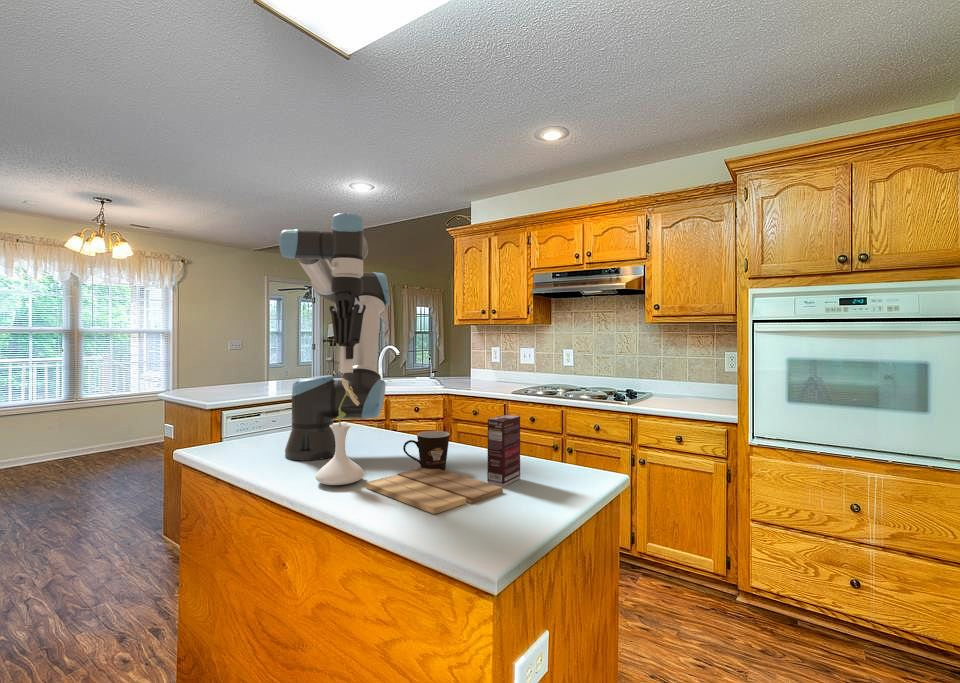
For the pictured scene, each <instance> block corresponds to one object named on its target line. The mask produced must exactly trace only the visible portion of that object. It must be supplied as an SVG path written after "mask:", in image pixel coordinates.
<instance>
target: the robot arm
mask: <svg viewBox="0 0 960 683" xmlns="http://www.w3.org/2000/svg"><path fill="white" fill-rule="evenodd" d="M331 221H332V222H331V226H330V228H331V230H315V229H314V230H313V229H298V228H295V229H283V230H282V231H281V232H280V235H279V240H278V241H279V252H280V254H281V256H282V257H283V258H285V259H291V260H295V259H296V260H297V261H298V263H299V265H301V268H302V269H303V271H304V272H305V274H306V275H307V276H308V277H309V279H310V284H311V287H312V289H313V290H314V292H315V293H316V294H317V295H318V296H320V297H321V298H322V299H325V300H326V301H328V302H330V303H333V304H334V305H330V306H329V307H328V309H329V311H330V316H331V322H332V330H333V331H332V332H333V339H334V343H335V344H338V347H339V372H340V373H343V374H342V379H335V377H334V375H332V374H329V375H317V376H312V377H311V376H310V377H306V378H299V379H297V380H295V381H294V382H293V384H292V390H291V395H290V397H291V431H290V433H289V437H288V440H287V443H286V446H285V449H284V453H285V454H284V457H285V458H286V459H288V460H292V461H317V460H323V459H324V460H325V459H328V458H333V457H334V455H335V449H336V445H335V436H334V433H333V431H332V429H331V428H330V425H332V424H334V420H337V419H336V418H337V417H338V416H339V407H340V404H341V402H342V400H343V398H344V396H345V394H346V390H345V388H344V386H343V384H342V380H343V379H345V380H347V382H348V385H349V387H350V386H351V387H352V389H353V393H354V394H355V395H356V396H357V398H358V399H357V400H358V401H359V403H360V404H358V405H359V406H357V405H356V404H355V403H354V402H353V401H352V399H351V398H350V397H349V396H347V395H346V397H345V399H344V401H343V403H342V406H341V411H342V412H344V413H345V414H346V416H344V418H342V419H341V420H367V419H376V418H378V417H380V415H381V414H382V411H383V407H384V402H385V396H386V394H385V393H386V382H385V380H384V379H382V376H381V374H380V372H378V371H377V368H378V367H377V366H378V350H379V336H380V334H379V332H380V321H381V320H380V315H381V314H382V313H383V312H384V311H385V309H386V307H389V306H390V295H389V284H388V278H387V275H386V274H385V273H383V272H375V271H372V272H366V271H365V272H364V260H365V259H366V257H367V256H368V254H369V253H368V252H369V246H368V245H369V244H368V241H367V239H366V238H365V236H364V230H365V227H364V219H363V217H362V216H361V215H359V214H356V213H351V212H350V213H349V212H339V213H336V214H334V215H333V216H332V219H331ZM329 260H330V261H331V262H330V261H329Z"/></svg>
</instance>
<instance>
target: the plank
mask: <svg viewBox="0 0 960 683" xmlns="http://www.w3.org/2000/svg"><path fill="white" fill-rule="evenodd" d="M364 485H365V486H364V488H366V489H369V490H370V491H373V492H375V493H379V494H381V495H383V496H386V497H389V498H390V499H391V498H392V499H394V500H396V501H399V502H402V503H404V504H407V505H410V506H412V507H415V508H418V509H420V510H423V511H425V512H427V513H431V514H432V515H436V514H440V513H443V512H445V511H448V510H452V509H454V508H456V507H460V506H463V505H466V504H467V503H466V498H465V497H462V496H459V495H456V494H453V493H450V492H447V491H444V490H441V489H438V488H435V487H432V486H429V485H426V484H423V483H420V482H417V481H414V480H411V479H408V478H405V477H402V476H399V475H397V474H394V475H391V476H387V477H386V476H385V477H381V478H377V479H373V480H370V481H365V484H364Z"/></svg>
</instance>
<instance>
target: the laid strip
mask: <svg viewBox="0 0 960 683" xmlns="http://www.w3.org/2000/svg"><path fill="white" fill-rule="evenodd" d="M396 475H399V476H402V477H405V478H408V479H411V480H414V481H417V482H420V483H423V484H426V485H429V486H432V487H435V488H438V489H441V490H444V491H447V492H450V493H453V494H456V495H459V496H462V497H465V498H466V504H469V505H473V504H476V503H478V502H481V501H484V500H487V499H489V498H492V497H495V496H497V495H500V494H503V493H504V487H500V486H496V485H493V484H489V483H487V482H485V481H482V480H478V479H474V478H472V477H468V476H464V475H461V474H457V473H454V472H451V471H447V470H445V471H444V470H441V469H426V468H422V467H417V468H412V469H409V470H405V471H402V472H397V474H396Z"/></svg>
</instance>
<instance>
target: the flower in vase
mask: <svg viewBox="0 0 960 683" xmlns="http://www.w3.org/2000/svg"><path fill="white" fill-rule="evenodd" d="M341 380H342V379H341ZM342 384H343V386H344V388H345V390H346V394H345V396H344V398H343V400H342V402H341V404H340V407H339V416H338V417H337V418H336V419H335V420H338V423H333V424H332V425H330V428H331V429H332V431H333V433H334V436H335V445H336V449H335V455H334V456H333V457H331V459H330V460H329V461H328V462H326V463H325V464H324V465H323V466H322V467H321V468H320V469H319V470H318V471H317V472H316V474H315V477H314V478H315V480H316V481H317V482H318V483H320V484H323V485H327V486H341V485H343V486H344V485H349V484H353V483H356V482H358V481H359V480H361V479H362V478H363V477H364V476H365V471H364V469H363V468H362V467H361V466H360V465H359V464H357V463H356V462H355V461H354V460H352V459H350V458H349V456H348V455H347V452H346V438H347V434H348V431H349V430H350V428H351V427H352V424H350V423H341V422H342V421H341V420H343V419H342V418H344V416H346V414H345V413H344V412H342V411H341V406H342V403H343V401H344V399H345V397H346V395H347V396H349V397H350V398H351V399H352V401H353V402H354V403H355V404H356V405H357V406H359V405H358V404H360V403H359V401H358V400H357V399H358V398H357V396H356V395H355V394H354V393H353V389H352V387H351V386H350V387H349V385H348V382H347V380H345V379H343V380H342Z"/></svg>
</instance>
